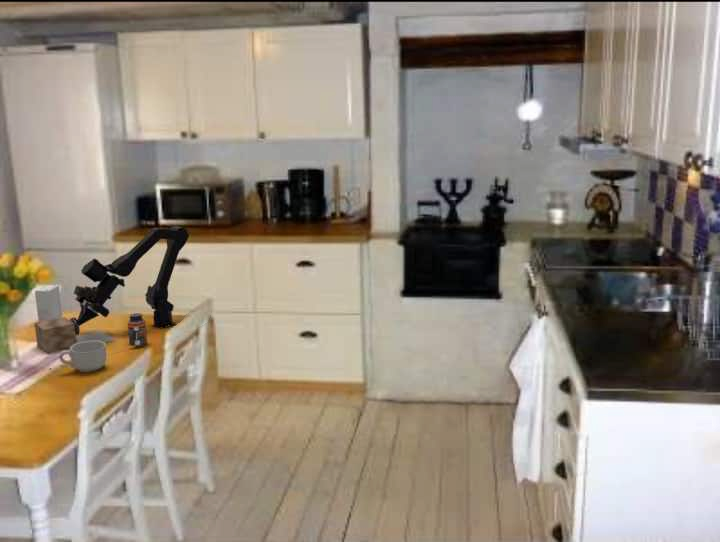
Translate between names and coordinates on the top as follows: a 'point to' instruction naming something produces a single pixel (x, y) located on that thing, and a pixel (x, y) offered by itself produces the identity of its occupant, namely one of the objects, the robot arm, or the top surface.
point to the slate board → (88, 337)
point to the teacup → (86, 355)
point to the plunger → (75, 325)
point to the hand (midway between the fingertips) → (77, 325)
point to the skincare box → (48, 303)
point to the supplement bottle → (137, 330)
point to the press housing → (55, 335)
